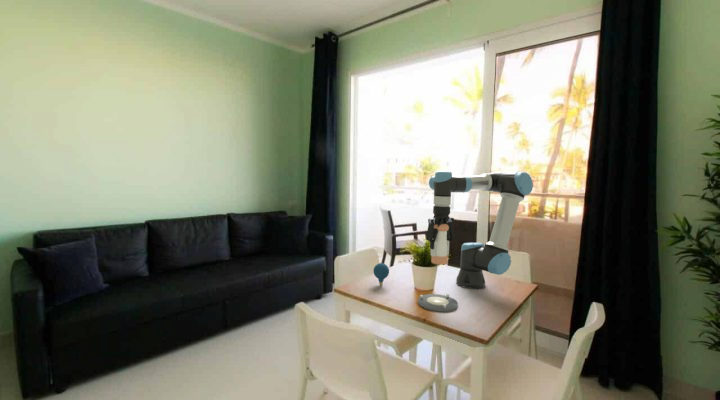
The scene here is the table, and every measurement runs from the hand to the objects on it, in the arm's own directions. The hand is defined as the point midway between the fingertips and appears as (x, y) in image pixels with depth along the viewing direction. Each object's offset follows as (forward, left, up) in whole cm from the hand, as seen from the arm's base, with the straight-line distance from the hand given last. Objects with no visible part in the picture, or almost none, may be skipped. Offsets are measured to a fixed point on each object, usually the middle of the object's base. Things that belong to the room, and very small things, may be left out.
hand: (439, 254), depth 152 cm
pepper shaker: (0, 0, -4) cm, 4 cm away
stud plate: (0, 0, -23) cm, 23 cm away
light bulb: (+21, -27, -23) cm, 41 cm away
